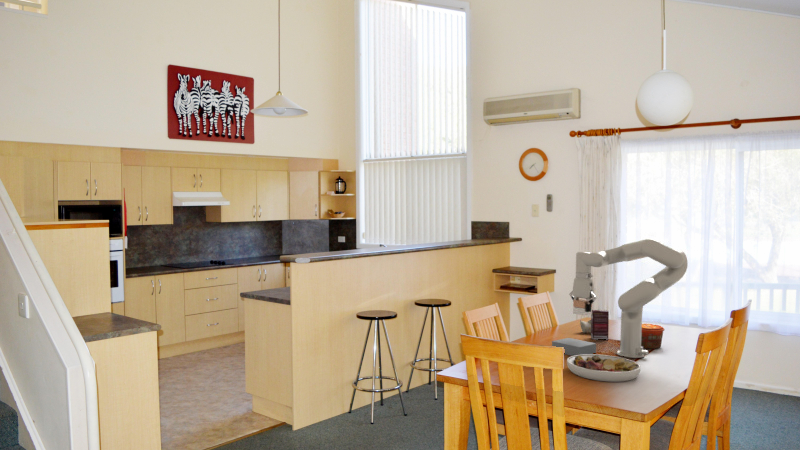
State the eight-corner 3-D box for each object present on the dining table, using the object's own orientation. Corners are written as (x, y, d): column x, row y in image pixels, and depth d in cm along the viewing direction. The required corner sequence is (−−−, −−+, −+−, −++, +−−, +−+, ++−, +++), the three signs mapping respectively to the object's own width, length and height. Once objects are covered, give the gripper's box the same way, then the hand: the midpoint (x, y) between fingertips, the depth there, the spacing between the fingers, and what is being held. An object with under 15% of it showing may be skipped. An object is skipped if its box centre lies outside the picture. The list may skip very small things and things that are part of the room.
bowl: (582, 361, 272) (582, 344, 272) (649, 373, 253) (649, 355, 253) (555, 374, 249) (555, 356, 248) (626, 388, 230) (627, 369, 229)
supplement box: (606, 338, 323) (606, 309, 323) (608, 340, 318) (609, 311, 318) (590, 337, 324) (590, 309, 323) (592, 339, 319) (593, 310, 319)
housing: (591, 314, 296) (592, 300, 296) (583, 315, 292) (584, 301, 292) (580, 312, 301) (581, 299, 301) (573, 313, 297) (573, 299, 297)
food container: (624, 344, 308) (624, 324, 308) (645, 341, 315) (645, 322, 315) (649, 351, 294) (650, 330, 294) (670, 348, 301) (671, 327, 301)
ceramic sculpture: (579, 316, 342) (606, 319, 339) (578, 330, 343) (605, 333, 339) (580, 319, 332) (608, 322, 329) (579, 334, 333) (607, 337, 329)
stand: (596, 353, 287) (596, 343, 287) (579, 357, 278) (579, 347, 278) (568, 347, 299) (568, 337, 299) (551, 351, 290) (552, 341, 290)
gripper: (602, 277, 291) (601, 312, 292) (573, 273, 305) (572, 307, 306) (593, 277, 287) (592, 314, 287) (564, 274, 301) (563, 309, 301)
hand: (582, 310), depth 296 cm, fingers closed on housing, 6 cm apart
